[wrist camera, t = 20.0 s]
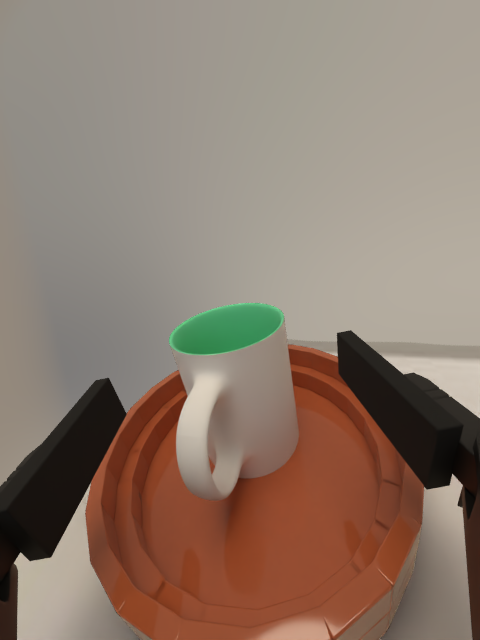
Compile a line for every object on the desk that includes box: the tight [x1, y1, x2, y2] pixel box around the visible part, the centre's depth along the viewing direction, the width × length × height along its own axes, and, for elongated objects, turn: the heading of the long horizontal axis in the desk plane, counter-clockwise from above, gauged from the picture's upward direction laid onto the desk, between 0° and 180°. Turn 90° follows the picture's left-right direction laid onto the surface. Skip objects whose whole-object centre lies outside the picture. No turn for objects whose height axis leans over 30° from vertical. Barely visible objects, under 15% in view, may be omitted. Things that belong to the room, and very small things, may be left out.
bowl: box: [85, 345, 424, 640], centre depth 18 cm, size 21×21×4 cm
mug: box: [169, 303, 299, 501], centre depth 17 cm, size 12×8×10 cm
